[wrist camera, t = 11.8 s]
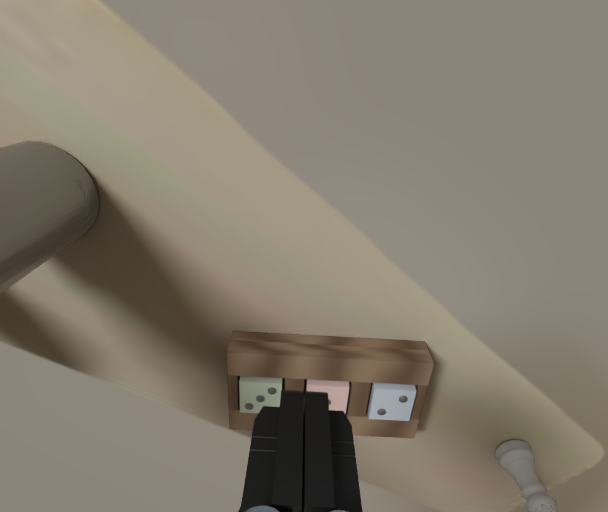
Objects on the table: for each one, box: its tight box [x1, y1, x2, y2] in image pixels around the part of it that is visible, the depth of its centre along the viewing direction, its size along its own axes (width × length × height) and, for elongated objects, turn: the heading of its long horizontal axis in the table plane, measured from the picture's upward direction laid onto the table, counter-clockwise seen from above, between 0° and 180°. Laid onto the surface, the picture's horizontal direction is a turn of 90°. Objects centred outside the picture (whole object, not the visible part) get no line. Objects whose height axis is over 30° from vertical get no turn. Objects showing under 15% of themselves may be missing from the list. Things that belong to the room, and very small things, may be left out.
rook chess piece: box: [495, 439, 557, 512], centre depth 46 cm, size 4×4×8 cm
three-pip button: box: [239, 376, 283, 413], centre depth 41 cm, size 4×4×2 cm
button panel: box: [227, 331, 434, 438], centre depth 42 cm, size 21×11×4 cm, turn 87°
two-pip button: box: [367, 383, 417, 421], centre depth 41 cm, size 4×4×2 cm
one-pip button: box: [305, 379, 349, 414], centre depth 41 cm, size 4×4×2 cm
